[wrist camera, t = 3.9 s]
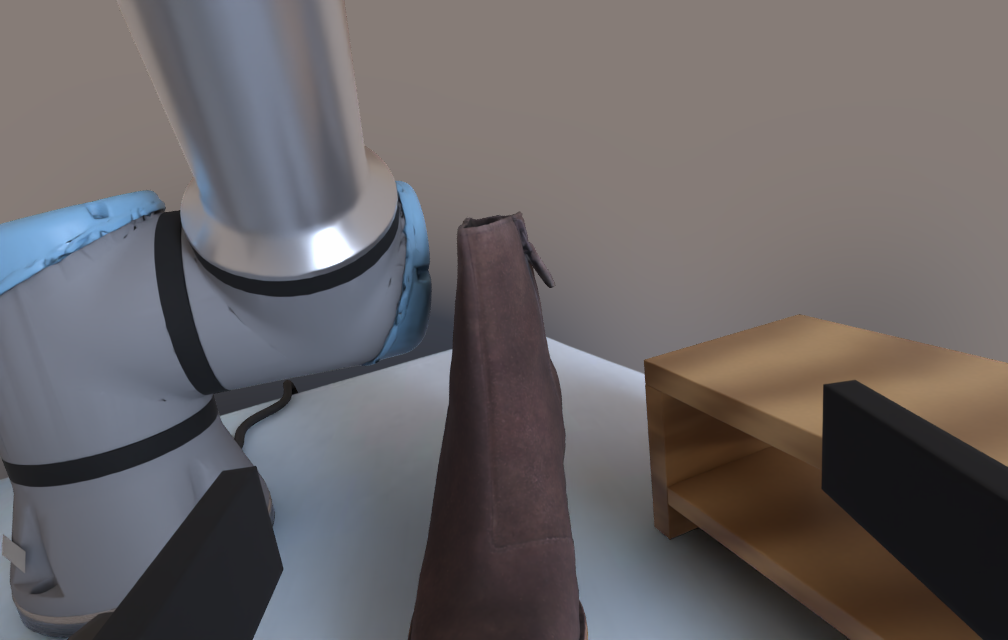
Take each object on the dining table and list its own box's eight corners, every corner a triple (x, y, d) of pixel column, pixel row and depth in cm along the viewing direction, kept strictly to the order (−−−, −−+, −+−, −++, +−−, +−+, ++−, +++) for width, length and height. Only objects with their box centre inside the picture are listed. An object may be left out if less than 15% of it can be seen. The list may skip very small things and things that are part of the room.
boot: (365, 822, 23) (234, 305, 17) (461, 477, 46) (418, 210, 40) (601, 821, 22) (542, 273, 16) (577, 469, 45) (550, 195, 39)
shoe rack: (654, 527, 37) (643, 359, 34) (797, 467, 41) (799, 313, 38) (1519, 1238, 12) (1763, 845, 9) (1657, 902, 16) (1854, 559, 13)
